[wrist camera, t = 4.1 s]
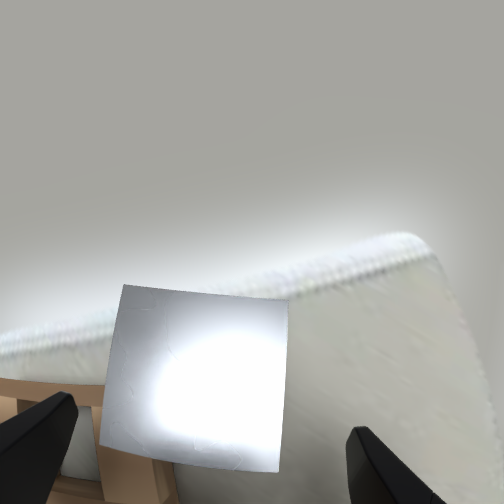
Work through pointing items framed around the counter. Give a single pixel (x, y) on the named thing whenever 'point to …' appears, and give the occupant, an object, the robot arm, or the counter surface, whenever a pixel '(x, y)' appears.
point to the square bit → (197, 379)
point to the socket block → (109, 460)
